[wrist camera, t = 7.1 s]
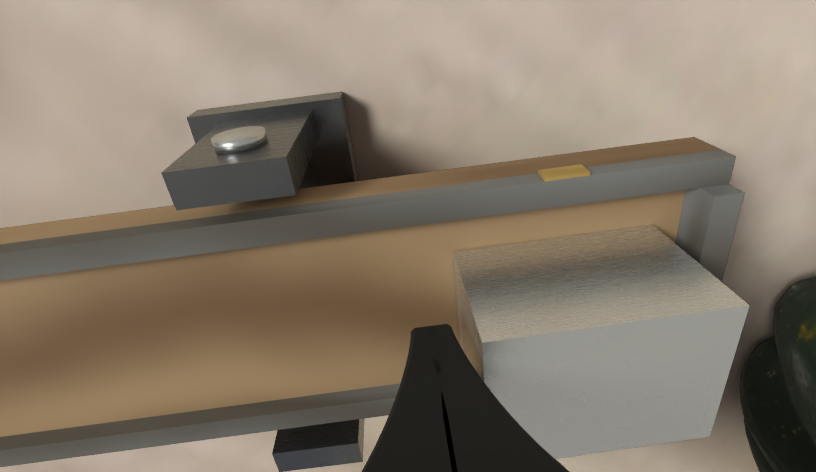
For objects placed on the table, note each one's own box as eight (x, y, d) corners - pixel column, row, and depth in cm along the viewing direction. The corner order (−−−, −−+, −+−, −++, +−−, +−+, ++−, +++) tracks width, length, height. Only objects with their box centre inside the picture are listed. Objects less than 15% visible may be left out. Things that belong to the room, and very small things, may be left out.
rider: (633, 337, 16) (709, 436, 12) (461, 361, 16) (488, 468, 12) (652, 224, 14) (749, 305, 10) (452, 251, 14) (482, 342, 10)
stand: (388, 354, 21) (391, 463, 17) (282, 367, 21) (254, 480, 17) (342, 91, 16) (325, 139, 11) (197, 110, 16) (114, 165, 11)
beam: (655, 342, 18) (693, 390, 16) (-20, 432, 18) (-74, 493, 15) (694, 133, 14) (753, 160, 12) (-175, 248, 14) (-276, 296, 11)
